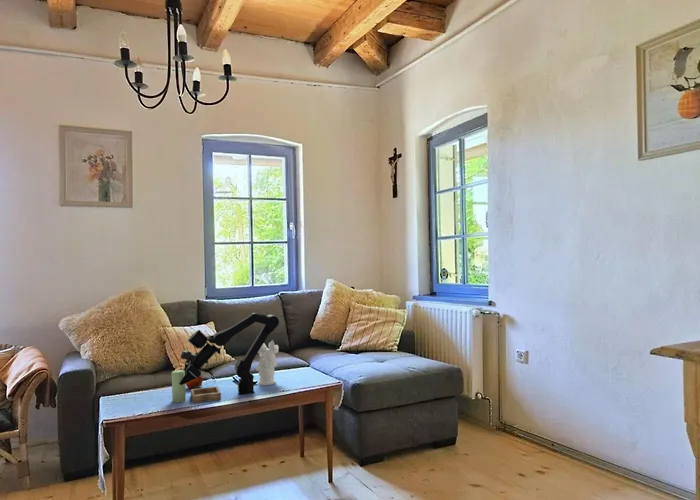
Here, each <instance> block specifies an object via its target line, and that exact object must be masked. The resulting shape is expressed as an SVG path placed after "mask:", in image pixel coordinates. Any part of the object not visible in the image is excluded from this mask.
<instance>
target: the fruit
mask: <svg viewBox="0 0 700 500" xmlns="http://www.w3.org/2000/svg"><path fill="white" fill-rule="evenodd" d="M203 379H204V378H203V375H202V374H201V375H200V376H199V378H196V379H193V380H191V381H189V382H187V383H185V387H187V388H188V389H190V390H191V389H199V388H200V387H201V388H204V387H203Z"/></svg>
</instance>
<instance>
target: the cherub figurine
mask: <svg viewBox="0 0 700 500" xmlns="http://www.w3.org/2000/svg"><path fill="white" fill-rule="evenodd" d="M279 348H280V347H279V345H278V344H275V342H274V339H272V340H271V341H270V342H268V347H267V345H266V343H265V342H264V343H263V345H262V346H261V348H260V350H259V351H258V353H257V354H259V357H260V359H259V362H258V364H257V366H256V368H255V371H258V375H259V380H258V382H257V384H258V385H260V386H271V385H273V384H276V383H277V381H276V379H275V377H274V376H275V372H276V371H275V368H276V367H277V365H278V361H277V357H276V354H277V353H279Z"/></svg>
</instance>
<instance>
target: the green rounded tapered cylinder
mask: <svg viewBox="0 0 700 500" xmlns="http://www.w3.org/2000/svg"><path fill="white" fill-rule="evenodd" d="M184 376H185V371H184V369H183V370H182V369H178V370H173V371H171V392H172V393H171V397H172V403H176V404H179V403H183V402H186V398H187V397H186V383H185V384H183V385H180V384H179V383H180V381H181V380H182V379H183V377H184Z"/></svg>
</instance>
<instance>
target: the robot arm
mask: <svg viewBox="0 0 700 500" xmlns="http://www.w3.org/2000/svg"><path fill="white" fill-rule="evenodd" d="M255 323H259V324H262V326H261V329H260V330H259V332H258V334H257V335H256V338H255V339H254V340H253V342H252V344H251V345H250V347H249V349H248V350H247V352H246V354H245V355H244V356H243V357H242V358H241V357H239V358H238V359H237V361H236V363H235V364H234V369H233V371H234V373H235V374H236V375H237V377H239V379H238V382H237V391H238V393H239V394H240V395H248V394H254V393H255V391H254V388H255V387H254V378H255V376H254V375H253V373H252V372H251V368H252V364H253V362H254V359H255V358H256V357H257V354H259V353H258V351H259V350H260V348H261V346H262V345H263V343H265V341H266V340H267V338H268V336H269V335H271V333H272V332H274V331H275V330H276V328H277V327H278V326H279V324H280V320H279V317H278V316H275V315H274V314H267V315H265V314H259V313H256V312H251V313H250V314H249V315H248V316H246V317H245V318H243V319H241V320H240V321H239V322H236V323H235V324H233V325H231V326H230V327H228V328H225V329H222V330H220V331H217V332H215V333H214V334H212V335H209V336H206V335H205V334H204V333H203V332H202V331H201V330H200V329H198V330H197V331H195V332H194V333H193V334H192V335H190V337H188V339H187V341H188V343H189V344H191V345H192V346H193V347H194V348H196V349H200V350H199V351H197V352H195V353H193V352H191V351H189V350H188V351H187V350H185V349H183V350H182V352H181V354H180V359H182V360H185V362H184V367H183V368H184V369H183V370H184V371H185V376H184V377H183V379H182V380H181V381H180V383H179V384H180V385H183V384H185V385H186V383H187V382H189V381H191V380H193V379H196V378H199V376H200V375H201V376H202V371H201V370H202V369H203V367H204V366H205V364H208V363H209V360H210V359H211V358H212V357H213V356H214V355H216V353H217V354H218V355H221V350H222V348H221V347H223V346H225V345H226V344H227V343H228V342H229V341H230V340H231V339H232V338H233V337H234V336H235V335H237V334H238V333H240V332H242V331H243V330H245V329H247V328H248V327H250V326H251V325H254V324H255Z"/></svg>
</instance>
